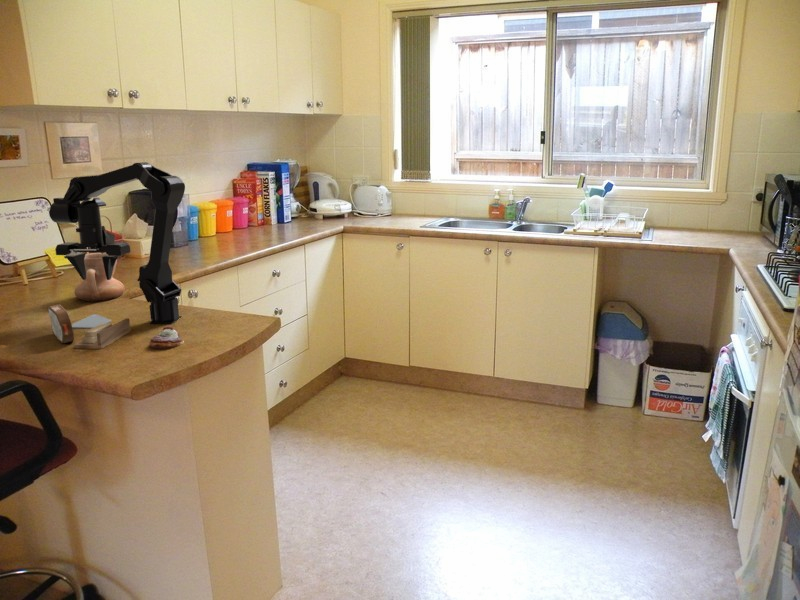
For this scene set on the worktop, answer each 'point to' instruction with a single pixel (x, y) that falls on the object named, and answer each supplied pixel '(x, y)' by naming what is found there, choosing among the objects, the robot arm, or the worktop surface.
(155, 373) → the worktop surface
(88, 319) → the slate mat
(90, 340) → the offcut lower
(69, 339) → the tin
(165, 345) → the pastry
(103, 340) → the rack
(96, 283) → the ceramic jug
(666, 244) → the worktop surface
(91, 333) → the offcut upper
